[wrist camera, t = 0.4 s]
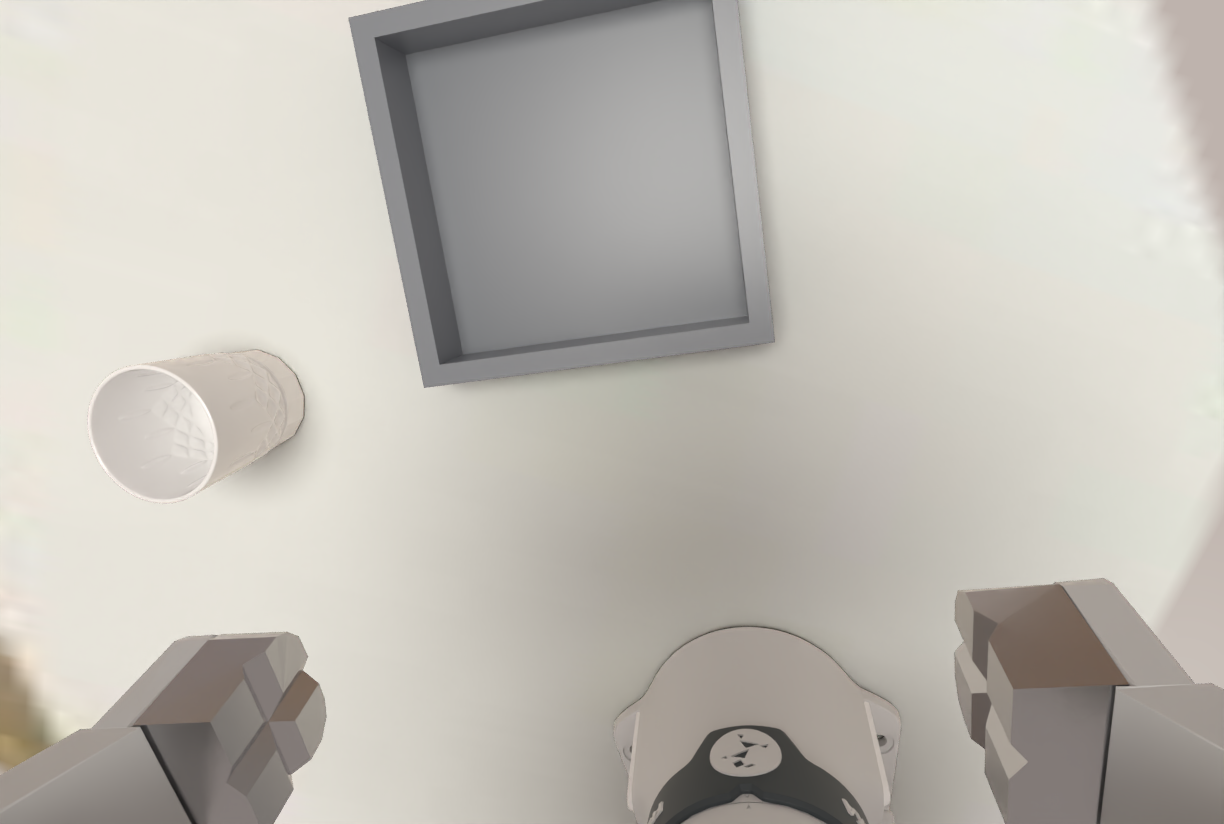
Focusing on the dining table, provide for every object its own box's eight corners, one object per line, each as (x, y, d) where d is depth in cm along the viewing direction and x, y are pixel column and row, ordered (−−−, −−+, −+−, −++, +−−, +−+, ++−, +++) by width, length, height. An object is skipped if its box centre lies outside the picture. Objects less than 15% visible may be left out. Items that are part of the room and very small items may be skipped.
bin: (770, 331, 45) (774, 342, 41) (454, 373, 49) (424, 387, 44) (729, -33, 42) (729, -69, 37) (389, 41, 45) (348, 17, 40)
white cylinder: (219, 458, 53) (106, 507, 43) (194, 346, 51) (70, 371, 42) (323, 451, 52) (230, 500, 42) (301, 335, 50) (199, 358, 40)
